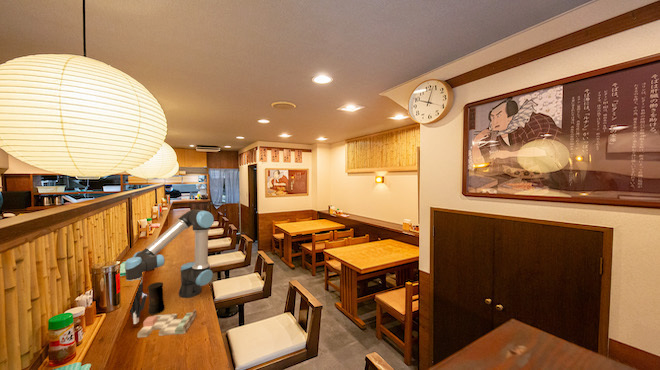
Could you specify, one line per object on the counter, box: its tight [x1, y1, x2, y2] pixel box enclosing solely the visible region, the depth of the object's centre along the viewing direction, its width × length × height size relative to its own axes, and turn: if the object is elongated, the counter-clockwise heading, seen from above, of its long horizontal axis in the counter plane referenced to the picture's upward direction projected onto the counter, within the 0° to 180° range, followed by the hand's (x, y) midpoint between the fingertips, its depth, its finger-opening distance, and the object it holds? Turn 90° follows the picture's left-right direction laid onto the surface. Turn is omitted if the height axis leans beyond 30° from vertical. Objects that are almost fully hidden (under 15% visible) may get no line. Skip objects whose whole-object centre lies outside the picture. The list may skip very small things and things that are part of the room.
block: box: [142, 315, 157, 327], centre depth 148 cm, size 5×5×3 cm
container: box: [147, 281, 165, 316], centre depth 165 cm, size 9×9×18 cm
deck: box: [136, 308, 197, 339], centre depth 150 cm, size 17×25×4 cm
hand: (136, 322), depth 147 cm, fingers closed
